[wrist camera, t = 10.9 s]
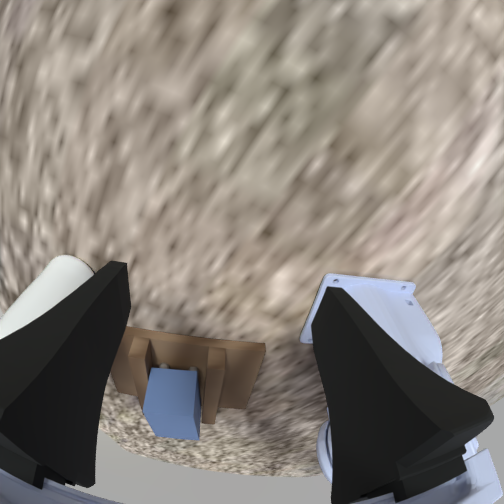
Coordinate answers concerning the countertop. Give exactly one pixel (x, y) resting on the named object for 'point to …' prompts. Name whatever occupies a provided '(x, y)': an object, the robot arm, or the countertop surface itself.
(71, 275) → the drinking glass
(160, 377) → the shelf block
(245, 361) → the shelf frame
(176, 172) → the countertop surface
